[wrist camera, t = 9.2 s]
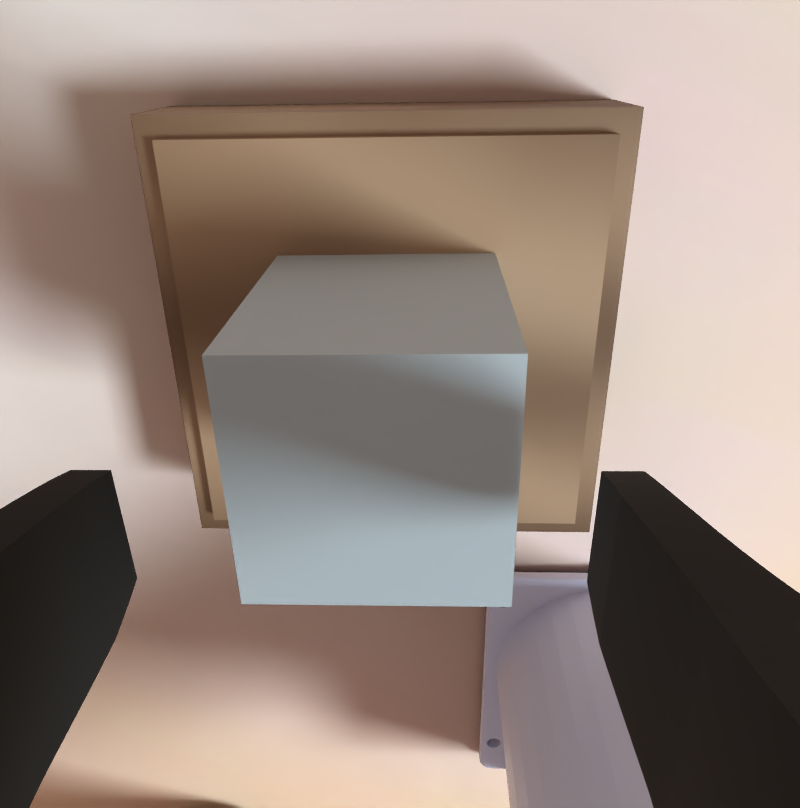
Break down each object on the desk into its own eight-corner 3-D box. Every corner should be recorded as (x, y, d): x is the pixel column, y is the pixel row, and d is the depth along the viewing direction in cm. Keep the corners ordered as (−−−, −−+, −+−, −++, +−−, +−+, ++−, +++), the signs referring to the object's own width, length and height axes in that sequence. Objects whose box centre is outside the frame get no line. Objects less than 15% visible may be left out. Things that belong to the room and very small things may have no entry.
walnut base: (571, 479, 22) (591, 538, 19) (226, 477, 23) (199, 534, 20) (613, 99, 17) (648, 108, 14) (171, 106, 18) (124, 115, 15)
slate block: (487, 444, 18) (511, 607, 13) (296, 443, 18) (241, 604, 13) (495, 252, 16) (527, 353, 11) (277, 255, 16) (201, 355, 11)
